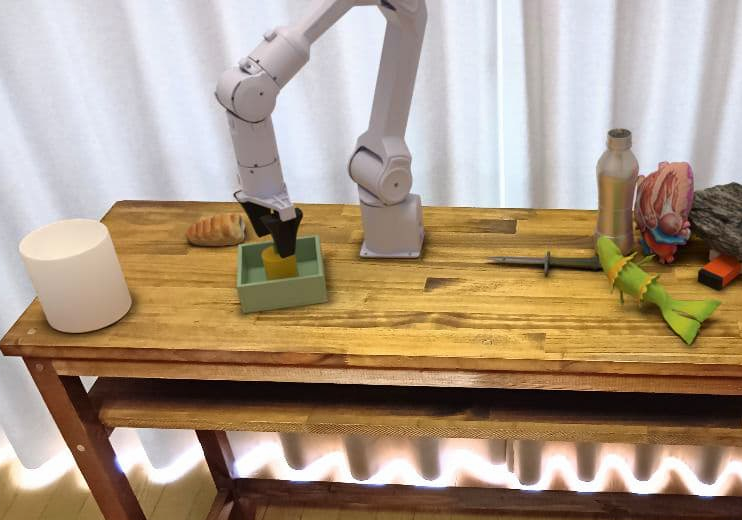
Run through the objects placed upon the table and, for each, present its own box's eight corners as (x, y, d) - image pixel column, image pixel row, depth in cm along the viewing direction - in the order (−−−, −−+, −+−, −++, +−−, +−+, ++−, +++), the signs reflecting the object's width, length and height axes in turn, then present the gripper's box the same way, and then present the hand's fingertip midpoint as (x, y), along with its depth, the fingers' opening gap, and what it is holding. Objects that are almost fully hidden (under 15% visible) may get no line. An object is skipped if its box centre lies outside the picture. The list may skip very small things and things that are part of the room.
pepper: (303, 274, 138) (295, 234, 134) (296, 291, 135) (288, 251, 130) (272, 273, 139) (264, 234, 134) (264, 291, 135) (255, 251, 131)
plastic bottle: (639, 247, 143) (648, 127, 131) (625, 268, 139) (633, 146, 126) (600, 240, 145) (606, 120, 133) (585, 260, 141) (590, 139, 128)
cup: (36, 309, 133) (6, 237, 126) (112, 280, 139) (88, 210, 132) (65, 343, 126) (35, 269, 119) (145, 311, 132) (121, 239, 125)
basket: (323, 260, 143) (318, 234, 140) (327, 302, 133) (323, 275, 130) (244, 270, 141) (238, 244, 138) (243, 313, 131) (236, 286, 129)
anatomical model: (646, 165, 142) (632, 261, 144) (627, 158, 138) (613, 257, 139) (708, 167, 135) (692, 267, 137) (690, 160, 131) (674, 263, 133)
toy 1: (582, 244, 128) (574, 290, 133) (700, 305, 119) (687, 351, 124) (615, 226, 133) (606, 270, 138) (730, 283, 124) (717, 328, 129)
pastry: (186, 252, 145) (180, 231, 143) (188, 232, 150) (182, 211, 148) (246, 244, 147) (241, 223, 144) (246, 224, 152) (241, 204, 150)
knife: (485, 257, 143) (480, 274, 139) (484, 245, 141) (479, 262, 137) (603, 262, 140) (602, 279, 136) (604, 250, 139) (602, 268, 135)
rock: (736, 200, 145) (733, 167, 141) (801, 240, 133) (799, 204, 130) (674, 231, 143) (669, 198, 139) (734, 274, 131) (731, 239, 127)
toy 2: (728, 300, 133) (784, 254, 140) (730, 280, 130) (787, 234, 138) (686, 281, 137) (743, 237, 144) (688, 261, 135) (745, 217, 142)
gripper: (209, 149, 127) (230, 234, 135) (253, 185, 118) (272, 274, 126) (255, 135, 130) (273, 219, 138) (302, 170, 121) (317, 258, 129)
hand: (276, 245), depth 133 cm, fingers open, 7 cm apart
